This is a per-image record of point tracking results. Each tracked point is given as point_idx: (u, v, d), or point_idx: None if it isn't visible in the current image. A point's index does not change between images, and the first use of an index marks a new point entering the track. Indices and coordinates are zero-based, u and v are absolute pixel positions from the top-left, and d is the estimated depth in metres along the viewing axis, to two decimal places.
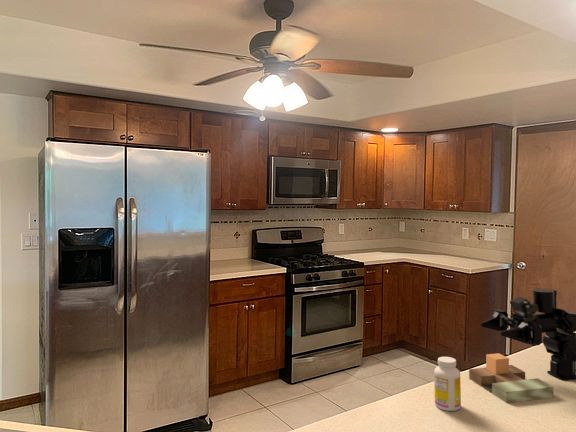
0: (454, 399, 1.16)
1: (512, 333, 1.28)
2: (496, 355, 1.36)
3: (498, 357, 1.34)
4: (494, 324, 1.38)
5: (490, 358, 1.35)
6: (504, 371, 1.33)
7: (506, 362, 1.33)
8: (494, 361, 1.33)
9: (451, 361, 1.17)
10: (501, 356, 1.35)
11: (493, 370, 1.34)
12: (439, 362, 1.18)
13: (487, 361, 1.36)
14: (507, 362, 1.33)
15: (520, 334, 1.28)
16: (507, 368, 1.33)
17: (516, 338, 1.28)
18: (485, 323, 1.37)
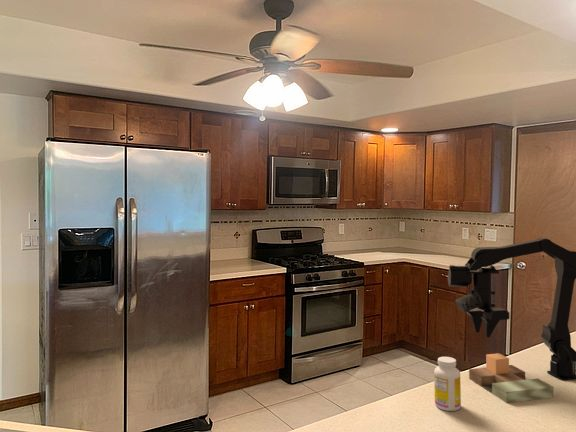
0: (454, 399, 1.16)
1: (489, 328, 1.38)
2: (496, 355, 1.36)
3: (498, 357, 1.34)
4: (478, 317, 1.45)
5: (490, 358, 1.35)
6: (504, 371, 1.33)
7: (506, 362, 1.33)
8: (494, 361, 1.33)
9: (451, 361, 1.17)
10: (501, 356, 1.35)
11: (493, 370, 1.34)
12: (439, 362, 1.18)
13: (487, 361, 1.36)
14: (507, 362, 1.33)
15: (491, 320, 1.38)
16: (507, 368, 1.33)
17: (494, 325, 1.38)
18: (476, 328, 1.44)
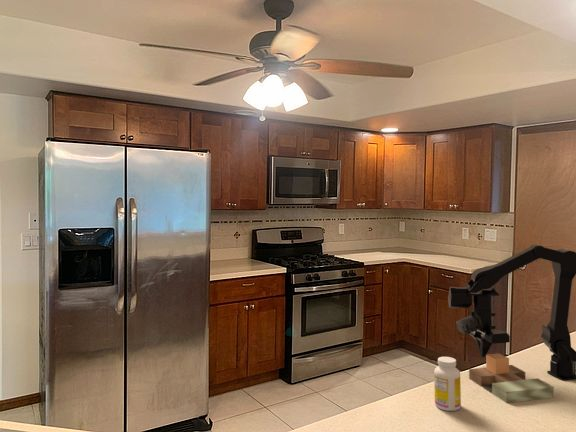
0: (454, 399, 1.16)
1: (485, 348, 1.41)
2: (496, 355, 1.36)
3: (498, 357, 1.34)
4: None
5: (490, 358, 1.35)
6: (504, 371, 1.33)
7: (506, 362, 1.33)
8: (494, 361, 1.33)
9: (451, 361, 1.17)
10: (501, 356, 1.35)
11: (493, 370, 1.34)
12: (439, 362, 1.18)
13: (487, 361, 1.36)
14: (507, 362, 1.33)
15: (487, 340, 1.41)
16: (507, 368, 1.33)
17: (489, 345, 1.41)
18: None
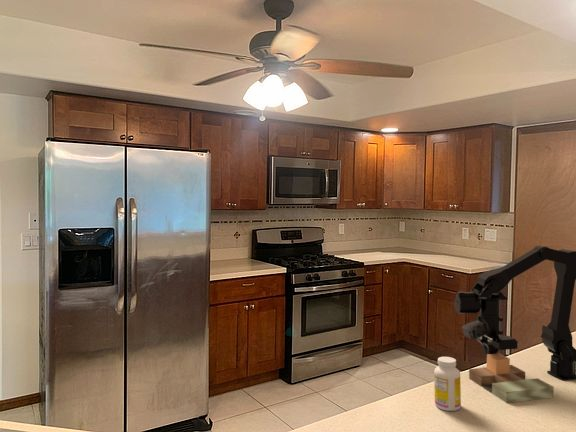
0: (454, 399, 1.16)
1: None
2: (497, 355, 1.36)
3: (499, 358, 1.33)
4: None
5: (491, 358, 1.34)
6: (505, 372, 1.33)
7: (507, 362, 1.33)
8: (495, 362, 1.32)
9: (451, 361, 1.17)
10: (502, 356, 1.34)
11: (493, 370, 1.33)
12: (439, 362, 1.18)
13: (488, 361, 1.36)
14: (508, 362, 1.33)
15: (493, 346, 1.37)
16: (508, 368, 1.33)
17: (496, 350, 1.37)
18: None
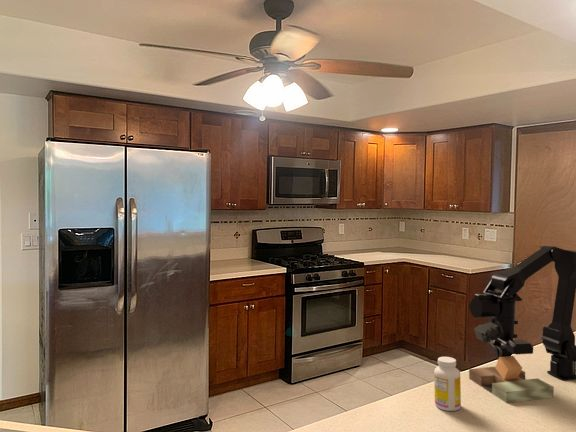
0: (454, 399, 1.16)
1: None
2: (510, 359, 1.29)
3: (512, 365, 1.28)
4: None
5: (502, 363, 1.29)
6: (513, 377, 1.29)
7: (518, 370, 1.27)
8: (506, 369, 1.27)
9: (451, 361, 1.17)
10: (515, 363, 1.28)
11: (502, 375, 1.29)
12: (439, 362, 1.18)
13: (498, 363, 1.31)
14: (519, 370, 1.27)
15: (507, 349, 1.31)
16: (517, 375, 1.28)
17: (509, 355, 1.31)
18: None
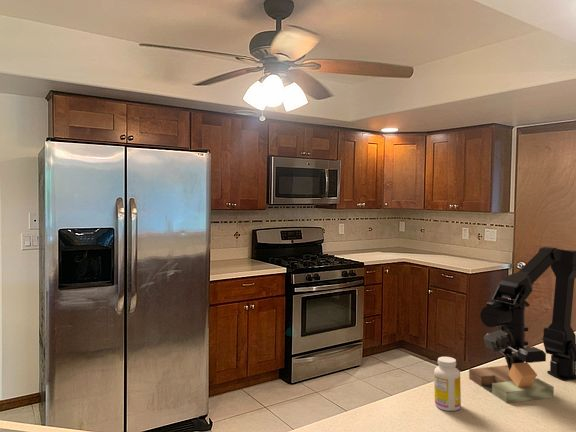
0: (454, 399, 1.16)
1: None
2: (524, 365, 1.24)
3: (526, 371, 1.22)
4: None
5: (516, 370, 1.23)
6: (527, 385, 1.23)
7: (533, 377, 1.22)
8: (520, 376, 1.22)
9: (451, 361, 1.17)
10: (529, 369, 1.23)
11: (516, 382, 1.24)
12: (439, 362, 1.18)
13: (512, 370, 1.25)
14: (534, 377, 1.22)
15: (518, 358, 1.27)
16: (532, 382, 1.23)
17: None
18: None
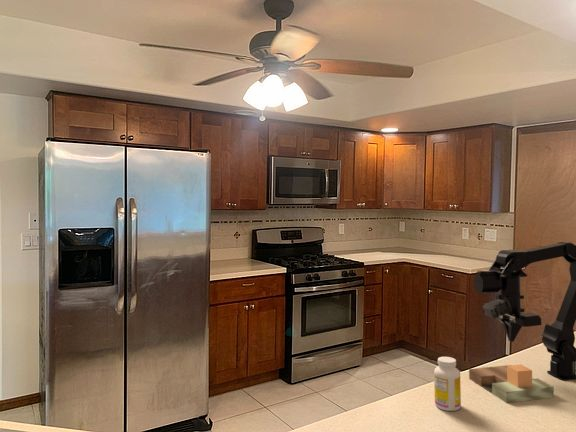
0: (454, 399, 1.16)
1: (513, 332, 1.35)
2: (518, 366, 1.27)
3: (521, 369, 1.25)
4: None
5: (511, 370, 1.25)
6: (527, 384, 1.24)
7: (529, 374, 1.24)
8: (516, 373, 1.23)
9: (451, 361, 1.17)
10: (523, 368, 1.25)
11: (515, 383, 1.24)
12: (439, 362, 1.18)
13: (508, 373, 1.27)
14: (530, 374, 1.24)
15: (515, 324, 1.35)
16: (530, 381, 1.24)
17: (518, 329, 1.35)
18: None
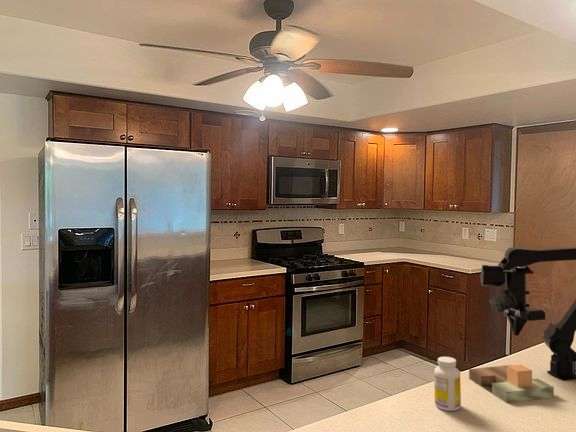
0: (454, 399, 1.16)
1: (518, 327, 1.40)
2: (518, 366, 1.27)
3: (521, 369, 1.25)
4: None
5: (511, 370, 1.25)
6: (527, 384, 1.24)
7: (529, 374, 1.24)
8: (516, 373, 1.23)
9: (451, 361, 1.17)
10: (523, 368, 1.25)
11: (515, 383, 1.24)
12: (439, 362, 1.18)
13: (508, 373, 1.27)
14: (530, 374, 1.24)
15: (520, 319, 1.40)
16: (530, 381, 1.24)
17: (523, 323, 1.40)
18: None
